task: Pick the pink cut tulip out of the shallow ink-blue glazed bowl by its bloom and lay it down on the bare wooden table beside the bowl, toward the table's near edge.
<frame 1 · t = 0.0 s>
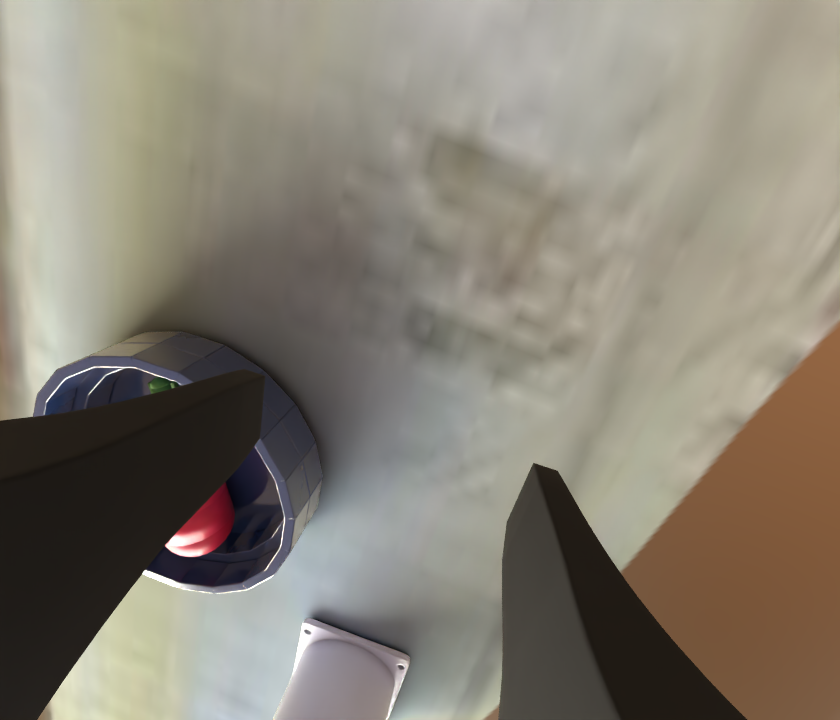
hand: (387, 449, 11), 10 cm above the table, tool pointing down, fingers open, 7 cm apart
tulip: (214, 485, 27), resting on bowl
bowl: (208, 446, 26), on the table
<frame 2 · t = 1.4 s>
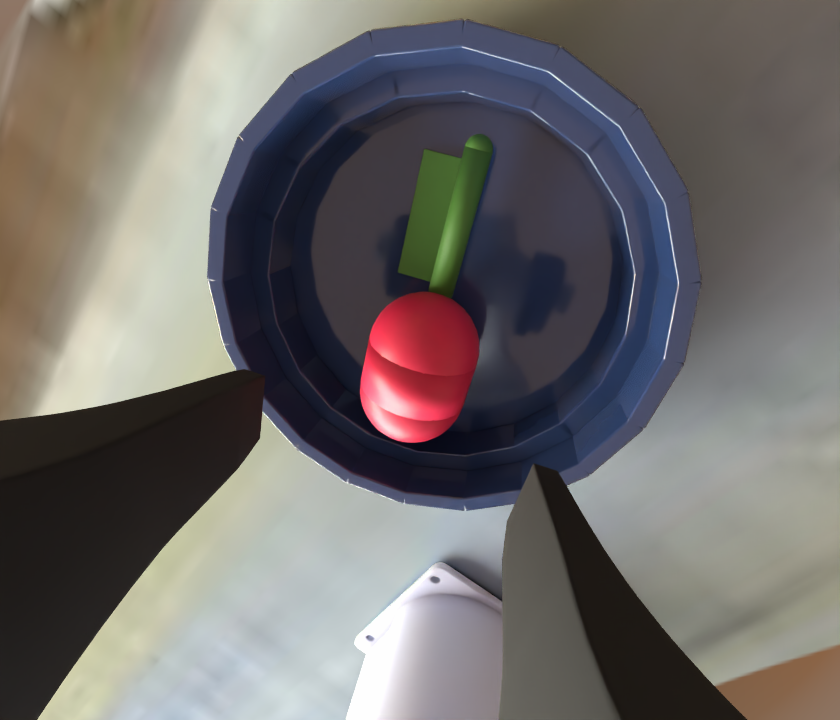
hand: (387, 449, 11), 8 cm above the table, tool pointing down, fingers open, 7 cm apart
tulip: (428, 349, 18), resting on bowl
bowl: (445, 287, 17), on the table
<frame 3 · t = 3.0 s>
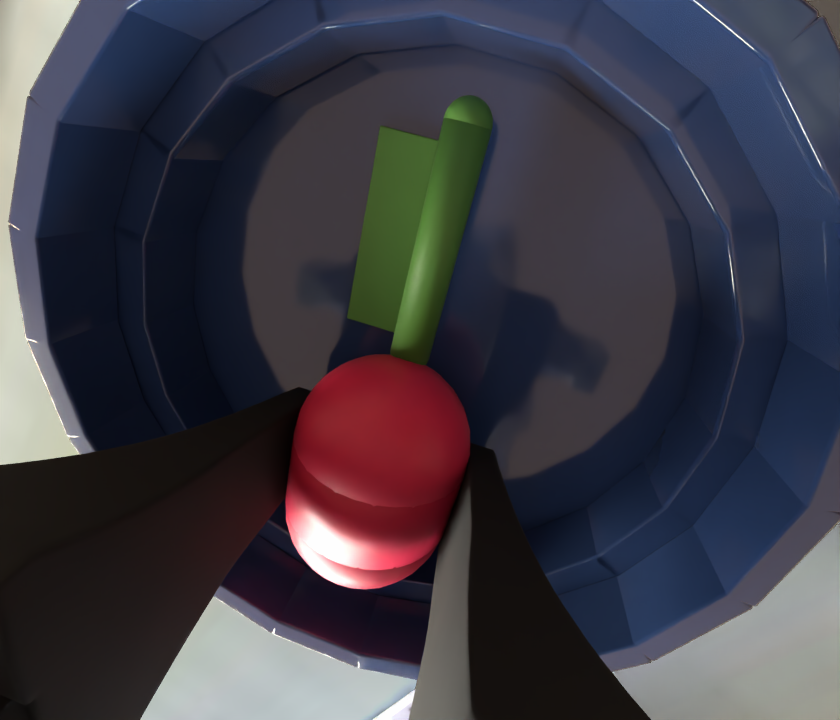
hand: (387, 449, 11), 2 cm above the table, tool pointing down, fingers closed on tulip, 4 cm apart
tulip: (397, 426, 12), resting on bowl, touching gripper
bowl: (423, 339, 11), on the table
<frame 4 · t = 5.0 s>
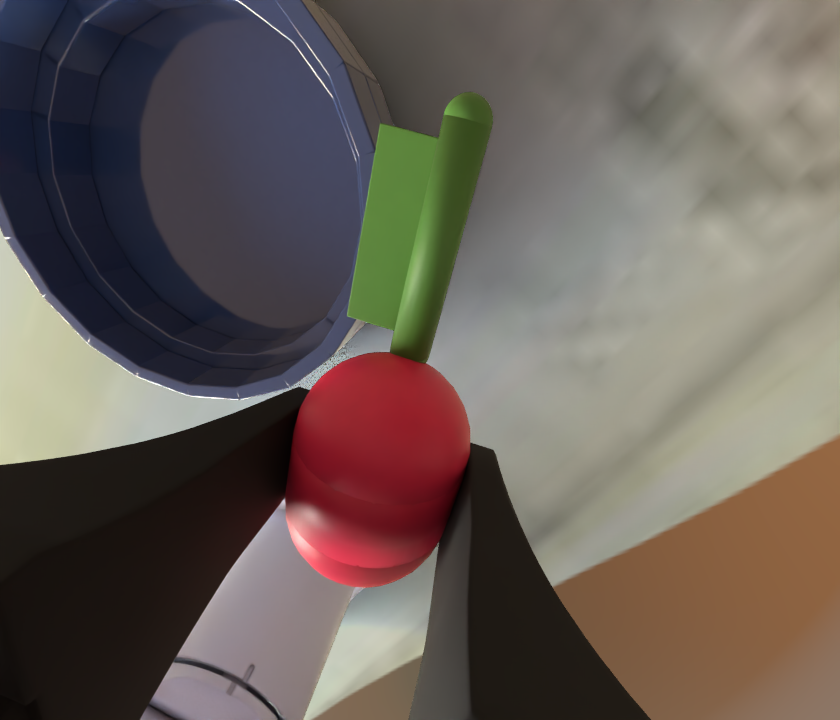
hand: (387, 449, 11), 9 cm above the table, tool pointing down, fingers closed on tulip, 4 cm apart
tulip: (397, 424, 12), point 7 cm above the table, touching gripper
bowl: (234, 195, 18), on the table
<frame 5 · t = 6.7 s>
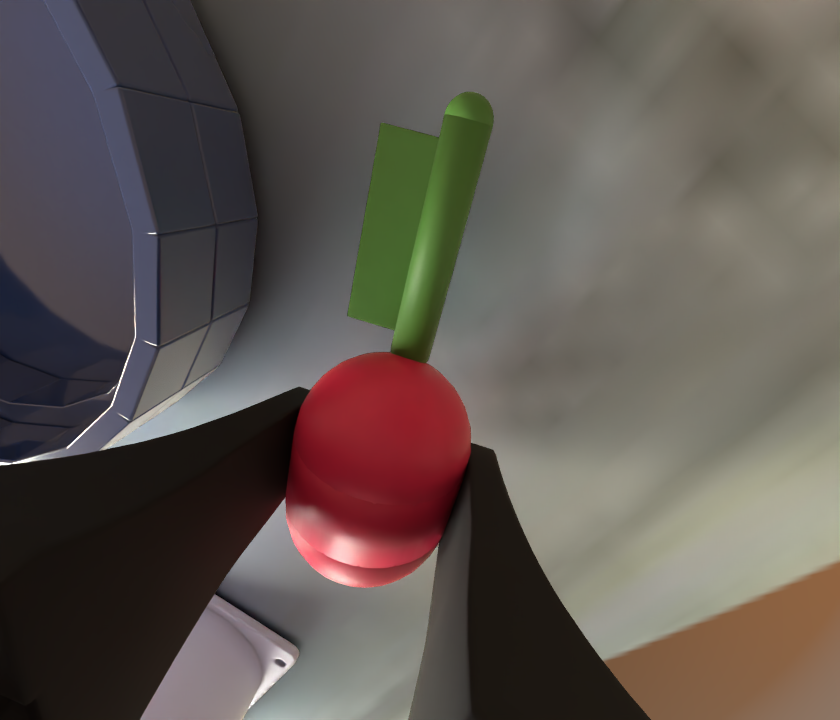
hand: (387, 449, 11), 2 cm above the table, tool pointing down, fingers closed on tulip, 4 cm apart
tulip: (397, 424, 12), point 1 cm above the table, touching gripper
bowl: (28, 179, 13), on the table
when the fingers open (1 cm above the table, at t = 7.4 s): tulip stays where it is, on the table.
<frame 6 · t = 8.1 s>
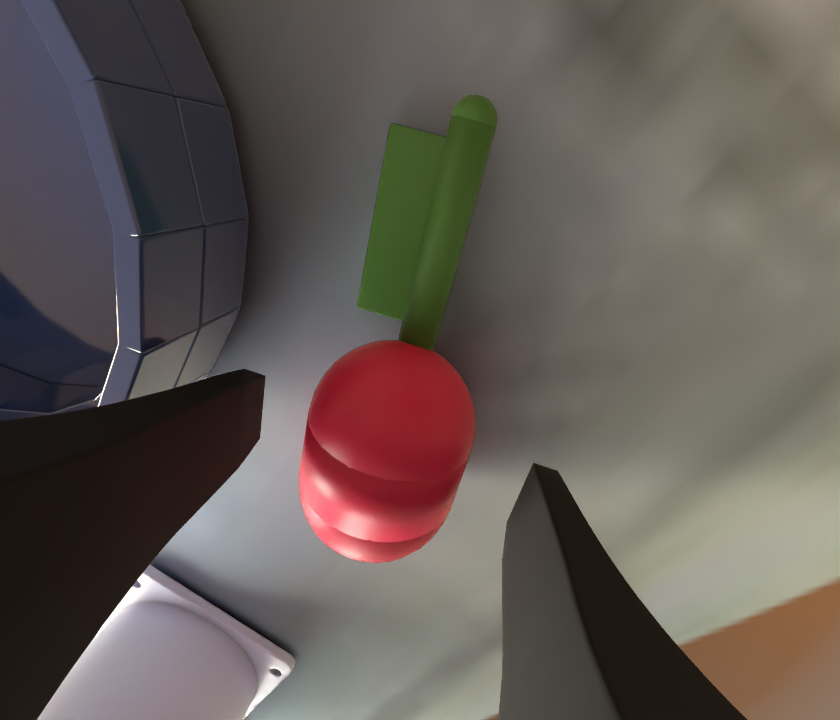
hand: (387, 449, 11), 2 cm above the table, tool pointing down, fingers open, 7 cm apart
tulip: (404, 411, 13), on the table
bowl: (12, 178, 12), on the table
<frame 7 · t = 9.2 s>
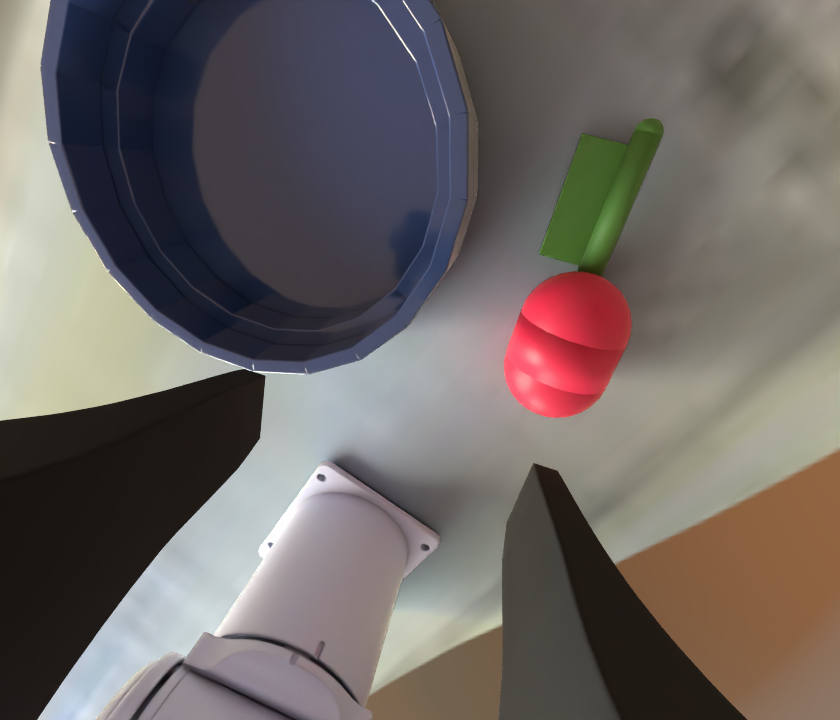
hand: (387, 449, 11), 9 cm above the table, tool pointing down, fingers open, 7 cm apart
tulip: (559, 329, 19), on the table
bowl: (296, 169, 18), on the table
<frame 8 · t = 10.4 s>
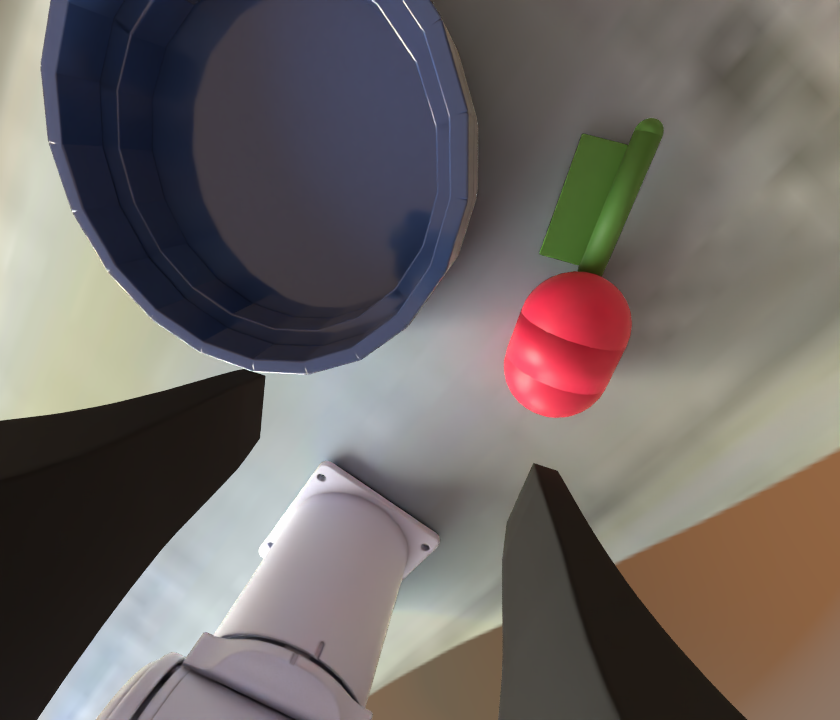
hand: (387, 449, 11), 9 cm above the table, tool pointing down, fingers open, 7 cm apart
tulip: (559, 329, 19), on the table
bowl: (296, 169, 18), on the table
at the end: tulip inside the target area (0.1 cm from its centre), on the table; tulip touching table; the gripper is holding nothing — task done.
